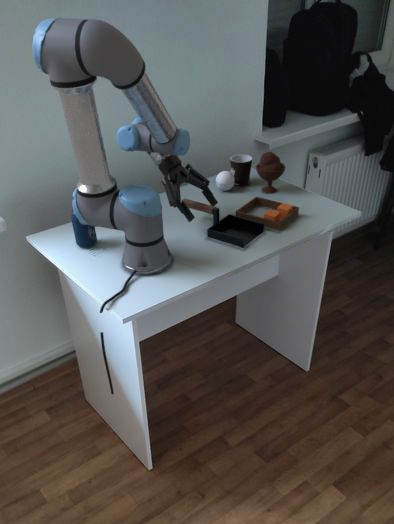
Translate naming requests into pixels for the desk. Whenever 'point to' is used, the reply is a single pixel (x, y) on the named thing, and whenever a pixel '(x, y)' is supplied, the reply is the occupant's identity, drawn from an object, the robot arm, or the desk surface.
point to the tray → (267, 222)
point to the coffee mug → (241, 169)
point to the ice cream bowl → (270, 170)
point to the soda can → (83, 233)
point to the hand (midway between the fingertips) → (204, 212)
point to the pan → (228, 225)
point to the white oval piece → (225, 180)
